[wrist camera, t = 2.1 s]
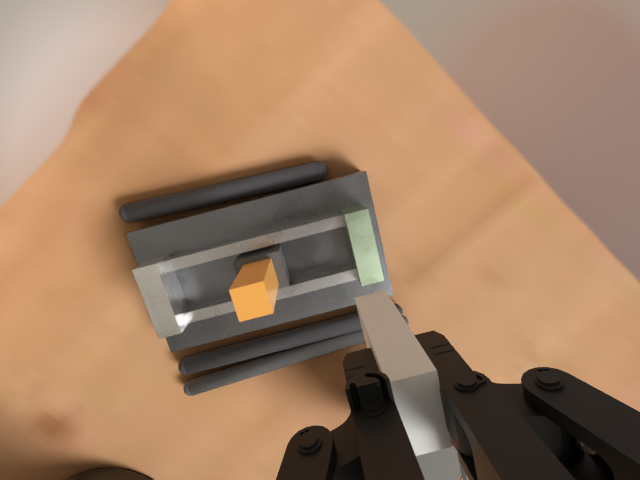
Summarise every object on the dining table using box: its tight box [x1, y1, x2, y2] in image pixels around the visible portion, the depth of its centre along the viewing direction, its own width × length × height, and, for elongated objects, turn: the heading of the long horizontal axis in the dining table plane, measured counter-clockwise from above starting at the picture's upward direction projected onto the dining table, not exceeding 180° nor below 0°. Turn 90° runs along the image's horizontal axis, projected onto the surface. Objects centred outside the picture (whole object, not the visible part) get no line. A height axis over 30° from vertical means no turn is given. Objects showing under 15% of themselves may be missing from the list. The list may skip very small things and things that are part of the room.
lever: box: [229, 245, 290, 322], centre depth 28 cm, size 4×3×8 cm
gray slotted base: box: [126, 171, 393, 352], centre depth 32 cm, size 22×12×6 cm, turn 104°
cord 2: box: [184, 315, 408, 396], centre depth 37 cm, size 25×2×2 cm, turn 107°
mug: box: [416, 435, 462, 480], centre depth 34 cm, size 10×8×10 cm
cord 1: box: [119, 161, 328, 223], centre depth 33 cm, size 20×2×2 cm, turn 102°
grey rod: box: [178, 303, 402, 375], centre depth 36 cm, size 24×2×2 cm, turn 104°
